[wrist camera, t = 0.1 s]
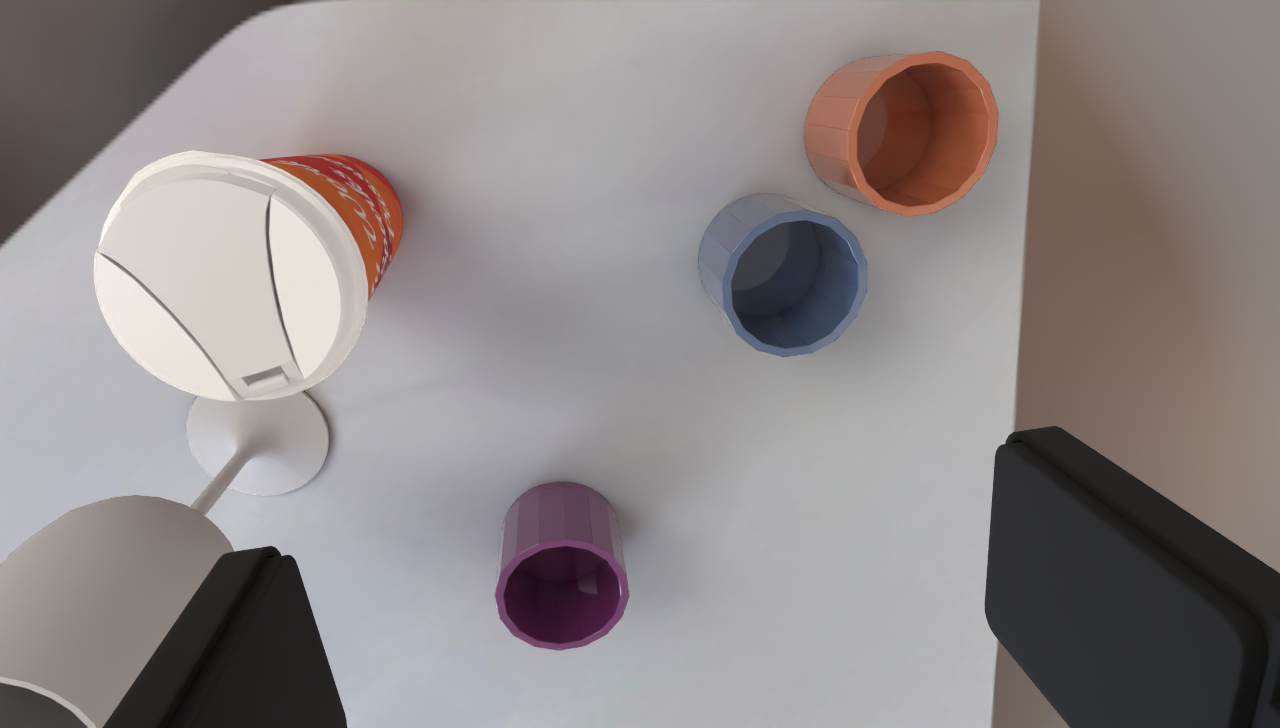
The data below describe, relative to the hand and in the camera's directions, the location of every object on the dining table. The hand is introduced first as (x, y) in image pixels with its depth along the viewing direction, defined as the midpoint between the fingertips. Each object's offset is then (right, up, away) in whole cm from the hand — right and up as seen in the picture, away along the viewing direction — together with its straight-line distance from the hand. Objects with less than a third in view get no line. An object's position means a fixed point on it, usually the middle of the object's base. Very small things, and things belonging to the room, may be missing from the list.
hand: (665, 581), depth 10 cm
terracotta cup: (+11, +15, +29) cm, 34 cm away
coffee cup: (-15, +10, +28) cm, 33 cm away
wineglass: (-21, -1, +31) cm, 37 cm away
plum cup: (-5, -7, +35) cm, 36 cm away
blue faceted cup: (+6, +9, +31) cm, 32 cm away
